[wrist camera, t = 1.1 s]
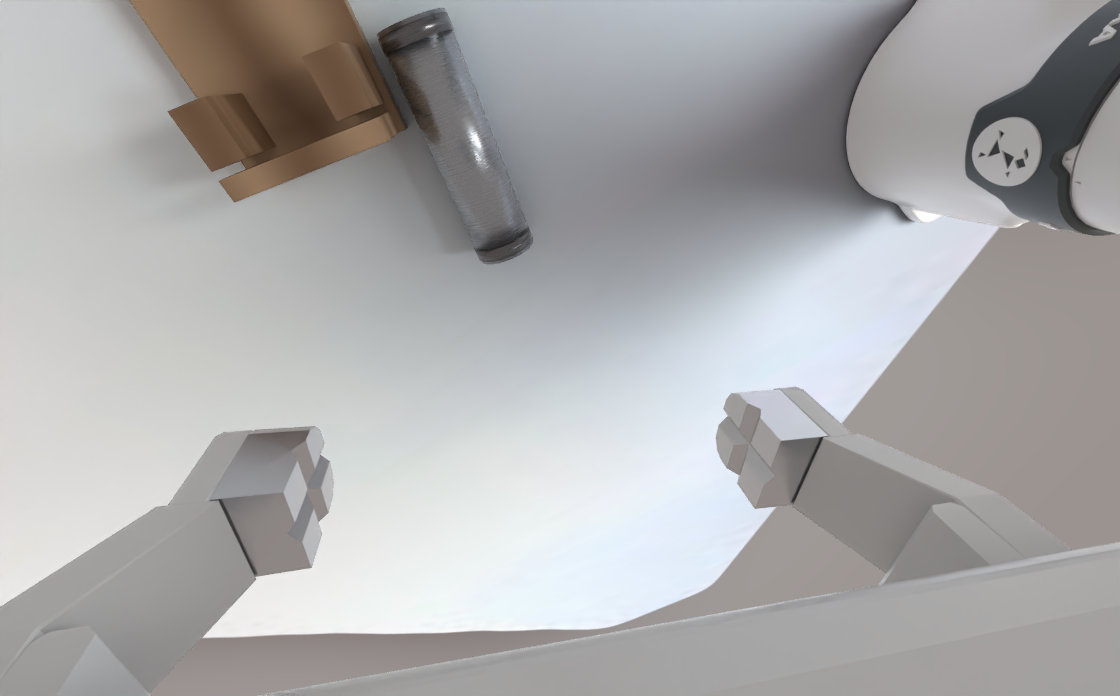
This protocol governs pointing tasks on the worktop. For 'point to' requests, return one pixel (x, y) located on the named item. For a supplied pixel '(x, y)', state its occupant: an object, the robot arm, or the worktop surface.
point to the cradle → (273, 85)
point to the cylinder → (457, 132)
